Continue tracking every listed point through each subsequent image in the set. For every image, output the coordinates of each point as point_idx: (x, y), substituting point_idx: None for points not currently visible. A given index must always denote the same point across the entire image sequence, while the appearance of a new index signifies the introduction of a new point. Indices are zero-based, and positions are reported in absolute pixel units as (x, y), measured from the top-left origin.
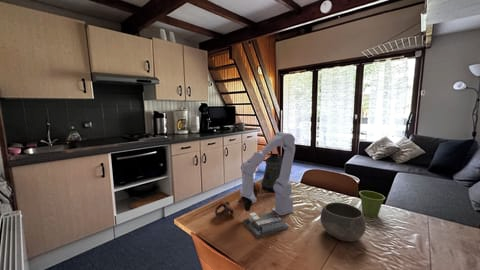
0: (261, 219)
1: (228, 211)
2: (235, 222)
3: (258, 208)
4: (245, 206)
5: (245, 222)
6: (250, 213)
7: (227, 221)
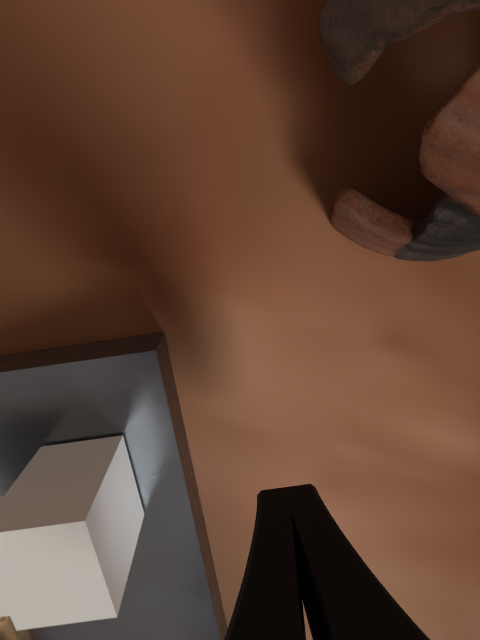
0: None
1: (367, 32)
2: (199, 212)
3: (446, 617)
4: (263, 585)
5: (78, 357)
6: (83, 544)
7: (275, 72)
